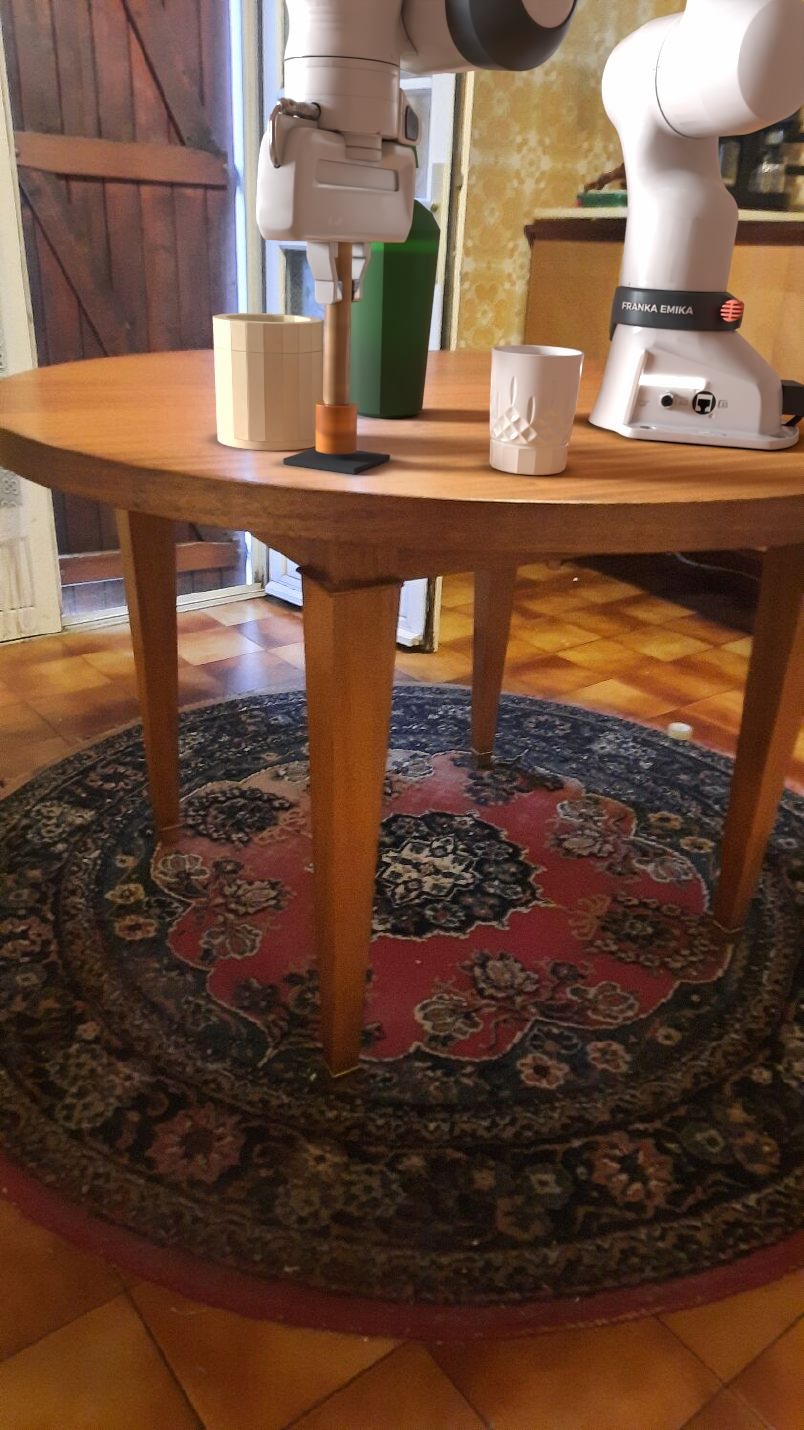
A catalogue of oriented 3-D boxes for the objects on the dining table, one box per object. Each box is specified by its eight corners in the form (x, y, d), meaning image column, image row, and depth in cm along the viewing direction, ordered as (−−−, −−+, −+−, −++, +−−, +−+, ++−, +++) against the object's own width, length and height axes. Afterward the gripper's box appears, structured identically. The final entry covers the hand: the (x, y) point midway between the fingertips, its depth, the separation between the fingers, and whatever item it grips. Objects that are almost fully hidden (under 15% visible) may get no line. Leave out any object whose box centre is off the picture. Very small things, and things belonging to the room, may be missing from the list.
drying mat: (390, 460, 92) (390, 454, 92) (354, 474, 86) (354, 468, 86) (321, 451, 94) (322, 445, 94) (283, 464, 89) (282, 458, 88)
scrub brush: (363, 449, 91) (368, 239, 83) (344, 456, 88) (348, 238, 80) (327, 444, 92) (330, 237, 85) (308, 451, 89) (308, 236, 82)
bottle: (434, 408, 119) (448, 133, 107) (427, 423, 109) (442, 124, 97) (343, 402, 120) (348, 129, 108) (329, 418, 110) (332, 119, 98)
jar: (340, 438, 100) (342, 319, 96) (288, 455, 92) (287, 325, 87) (254, 426, 104) (251, 311, 99) (196, 442, 96) (190, 317, 91)
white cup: (502, 478, 87) (512, 355, 83) (470, 459, 94) (478, 344, 89) (586, 476, 89) (600, 356, 85) (549, 457, 96) (560, 345, 92)
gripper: (311, 93, 69) (310, 312, 75) (430, 124, 86) (422, 300, 92) (232, 93, 71) (237, 306, 77) (364, 123, 88) (360, 296, 94)
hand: (339, 303), depth 85 cm, fingers closed on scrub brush, 2 cm apart
